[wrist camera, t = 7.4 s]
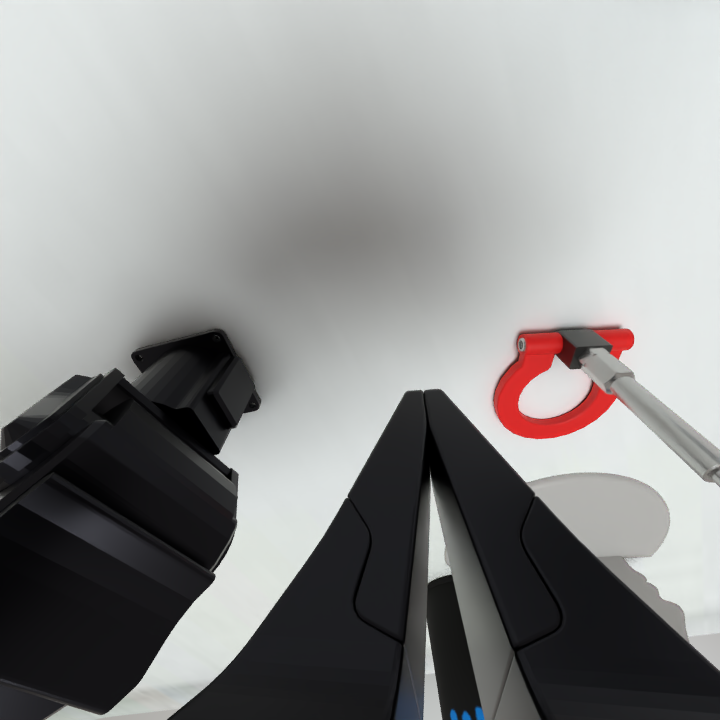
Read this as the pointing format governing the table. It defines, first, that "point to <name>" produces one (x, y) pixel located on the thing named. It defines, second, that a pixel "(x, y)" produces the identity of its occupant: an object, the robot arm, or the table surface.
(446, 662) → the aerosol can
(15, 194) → the table surface
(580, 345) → the tow hook
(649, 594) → the ornament
